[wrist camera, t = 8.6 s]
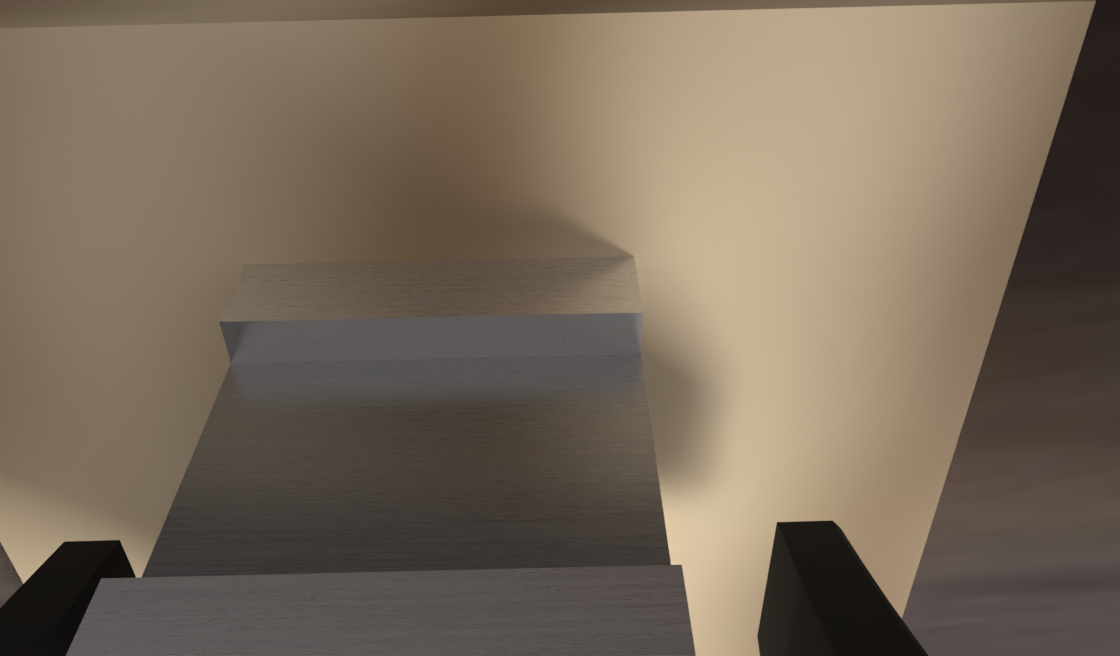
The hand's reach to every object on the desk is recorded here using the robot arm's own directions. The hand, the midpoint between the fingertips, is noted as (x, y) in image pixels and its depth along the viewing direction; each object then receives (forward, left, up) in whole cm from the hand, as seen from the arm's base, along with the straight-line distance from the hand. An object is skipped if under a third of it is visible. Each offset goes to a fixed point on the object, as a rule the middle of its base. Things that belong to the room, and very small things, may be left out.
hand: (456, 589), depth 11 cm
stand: (0, 0, -3) cm, 3 cm away
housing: (0, 0, -1) cm, 1 cm away
